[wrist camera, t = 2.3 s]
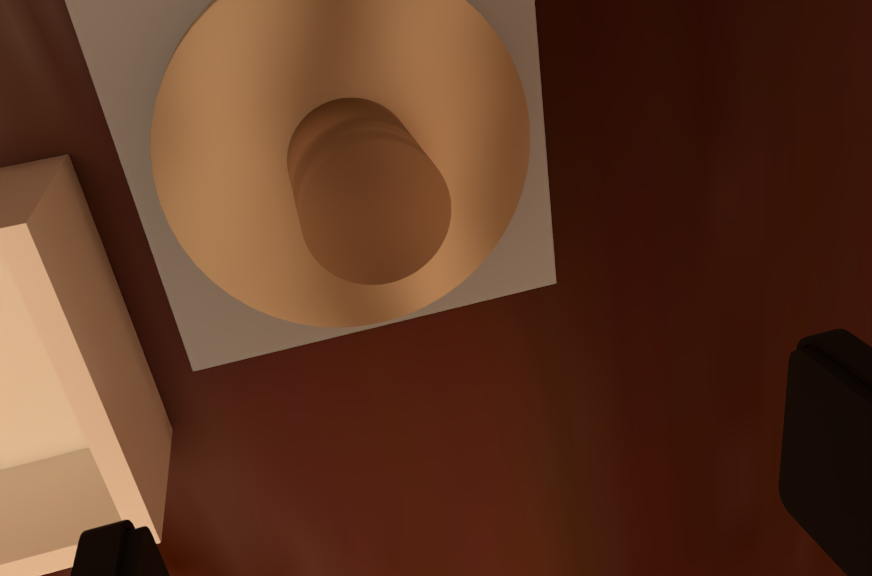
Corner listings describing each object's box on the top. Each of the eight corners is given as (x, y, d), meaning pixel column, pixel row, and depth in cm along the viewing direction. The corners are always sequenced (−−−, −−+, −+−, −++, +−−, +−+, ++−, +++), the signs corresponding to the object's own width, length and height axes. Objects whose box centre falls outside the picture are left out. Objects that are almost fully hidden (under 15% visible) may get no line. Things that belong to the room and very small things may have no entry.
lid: (496, -79, 24) (579, -72, 19) (529, 265, 30) (601, 351, 24) (99, -9, 23) (57, 22, 17) (213, 342, 28) (210, 453, 23)
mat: (521, -119, 24) (525, -119, 24) (552, 278, 31) (556, 283, 31) (53, -41, 22) (50, -41, 22) (193, 365, 29) (193, 371, 29)
